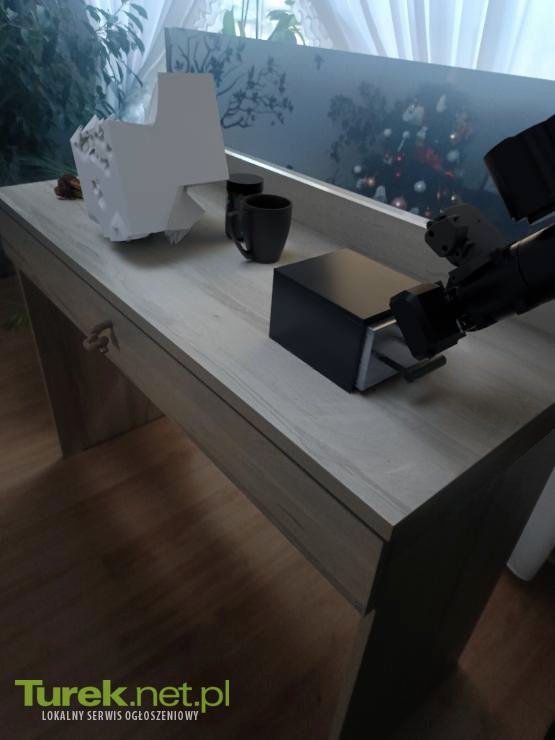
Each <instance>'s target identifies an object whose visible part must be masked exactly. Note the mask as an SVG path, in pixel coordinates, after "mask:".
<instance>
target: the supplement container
mask: <svg viewBox="0 0 555 740" xmlns="http://www.w3.org/2000/svg"><path fill="white" fill-rule="evenodd" d="M224 181H225V182H224V187H225V191H224V193H225V194H224V195H225V199H224V201H225V202H224V206H225V207H224V218H225V217H226V214H227V213H229V212H232V211H240V210H241V208H242V199H243V198H244V197H246V196H248V195H254V194H264V189H265V188H264V187H265V185H264V184H265V179H264V177H262V176H260V175H257V174H253V173H246V172H245V173H244V172H238V173H237V172H236V173H229V180H224ZM232 227H233V230H234V233H235V235H236V237H237V239H238V241H239V242H240V243H245V242H244V237H243V231H242V222H241V214H240V215H235V216H234V217H233V219H232ZM224 233H225V236H226V237H227V238H228V239H230V240H231V241H233V239H232V238H231V236H230V234H229V232H228V230H227V227H226V224H225V223H224Z"/></svg>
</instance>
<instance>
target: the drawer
mask: <svg viewBox="0 0 555 740" xmlns="http://www.w3.org/2000/svg"><path fill="white" fill-rule="evenodd" d="M447 363H448V359H447V357H446V356H445V355H444V354H443V353H439V354H437V355H435V356H432V357H429V358H427V359H425V360H421V361H418V360H417V359H415V358H413V357H412V354H411V352H410V350H409V348H408V346H407V344H406V341H405V339H404V337H403V335H402V333H401V330H400V328H399V326H398V324H397V322H396V319H395V317H394V315H393V314H391V315H389V316H386V317H384V318H381V319H379V320H376V321H374V322H371V323H369V324H367V326H366V331H365V336H364V341H363V346H362V351H361V356H360V361H359V366H358V371H357V376H356V381H355V386H356V387H357V388H359V389H358V390H360V391H365V390H367V389H369V388H370V387H372V386H375V385H377V384H379V383H380V382H383V381H384V380H387V379H388V378H390V377H393V376H395V375H396V374H400V375H402V377H403V379H404V381H405V382H406V383H408V384H412V383H414V382H416V381H417V380H420V379H421V378H423V377H425V376H427V375H429V374H431V373H433V372H434V371H437V370H438V369H440V368H442V367H444V366H445V365H446V364H447ZM416 364H417V365H416ZM414 365H415V366H414Z"/></svg>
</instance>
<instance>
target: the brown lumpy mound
mask: <svg viewBox="0 0 555 740" xmlns="http://www.w3.org/2000/svg"><path fill="white" fill-rule="evenodd" d="M56 182H57V186H55V187H54V188H53V192H54V194H55V196H57V197H62V198H65V199H68V198H70V199H74V197H76V198H78V197H79V198H83V197H82V196H83V193H82V189H81V185H80V181H79V178H78V177H77V176H75V175H74V174H73V173H67V172H66V173H65V172H64V173H62V174H61V177H59V178H58V179H57V180H56Z"/></svg>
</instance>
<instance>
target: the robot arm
mask: <svg viewBox="0 0 555 740" xmlns="http://www.w3.org/2000/svg"><path fill="white" fill-rule="evenodd" d="M482 161H483V164H484V165H485V169H486V170H487V172H488V174H489V176H490V178H491V181H492V182H493V184H494V187H495V189H496V191H497V193H498V195H499V197H500V200H501V201H502V203H503V206H504V209H505V210H506V212H507V214H508V216H509V219H510V220H511V221H515V223H516V224H518V223H520V222H522V221H524V220H526V222H527V224H528V226H529V227H530V226H535V225H537V224H539V223H541V222H543V221H546V220H548V219H550V218H552V217H553V216H554V217H555V113H554V114H552V115H551V116H550V117H548V118H547V119H545V120H543V121H540V122H538V123H536V124H533V125H531V126H529V127H528V128H526V129H524V130H522V131H521V132H519V133H517V134H515V135H512V136H511V135H510V136H507V137H505V138H504V139H503V140H501V141H500V142H498V143H497V144H495V146H493V147H492V148H490V149H489V150H488V151H487V152H486V153H485V155H484V156H483V157H482ZM425 227H426V229H427V230H426V232H425V233H424V242H425V243H426V244H427V246H428V247H429V248H430V249H431V250H432V251H433V252H434V253H435V255H437V256H438V257H439V258H445V259H446V260H447V261H448V262H449V264H450V265H452V266H454V267H455V268H454V269H452V270H450V271H448V272H447V274H448V276H449V277H448V279H447V282H446V286H444V283H443V281H442V280H440V279H439V280H438V281H435V282H431V281H429V280H427V281H425V282H421V283H422V284H419V285H416V286H414V287H411V288H408V289H406V290H404V291H402V292H400V293H398V294H396V295H394V296H393V297H391V298H390V302H389V306H390V309H391V311H392V313H393V315H394V317H395V319H396V322H397V324H398V326H399V328H400V330H401V333H402V335H403V337H404V339H405V341H406V344H407V346H408V348H409V350H410V352H411V354H412V357H413V358H415V359H417V360H418V361H420V362H422V361H425V360H428V358H429V357H432V356H435V355H438V354H442V353H443V352H445V351H446V350H448V349H450V348H452V347H454V346H456V345H458V343H459V340H462V339H463V338H465V337H467V333H475V332H479V331H482V330H484V329H487V328H489V327H491V326H493V325H495V324H497V323H499V322H501V321H503V320H506V319H509V318H511V317H513V316H516V315H517V316H520V315H523V314H526V313H529V312H530V311H532V310H534V309H536V308H538V307H540V306H542V305H545V304H547V303H549V302H552V301H555V222H554V223H552V224H550V225H548V226H546V227H545V228H543V229H541V230H539V231H537V232H534V233H533V234H531V235H529V236H527V237H525V238H519V239H516V240H514V241H512V242H508V241H507V240H506V239H505V237H503V236H502V234H501V232H500V230H499V229H498V228H497V227H496V226H495V225H494V224H493V222H491V221H490V220H489V219H488V218H487V217H486V216H485V215H484V214H483V213H482V212H481V211H480V210H479V209H478V208H477V207H476V206H474V205H472V204H470V203H465V202H464V203H461V204H457V205H452V206H449V207H448V206H447V207H445V208H444V209H443V211H442V212H440V213H438V214H437V215H436V216H435V218H433V219H430V220H428V221H426V224H425ZM421 360H422V361H421Z"/></svg>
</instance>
